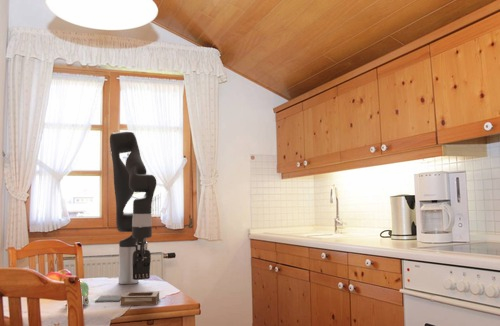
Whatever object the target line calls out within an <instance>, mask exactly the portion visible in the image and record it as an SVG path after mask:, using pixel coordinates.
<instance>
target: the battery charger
mask: <svg viewBox="0 0 500 326" xmlns="http://www.w3.org/2000/svg"><path fill="white" fill-rule="evenodd" d="M139 256H141V255H139ZM151 260H152V256H151V251H150V250H149V249H148V248H147V249H146V252H145V255H144V263H143V271H138V270H137V260H136V250H134V251H133V253H132V279H134V280H138V281H139V280H140V281H141V280H149V279H150V277H151V276H150V275H151V274H150V271H151V270H150V269H151Z"/></svg>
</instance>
